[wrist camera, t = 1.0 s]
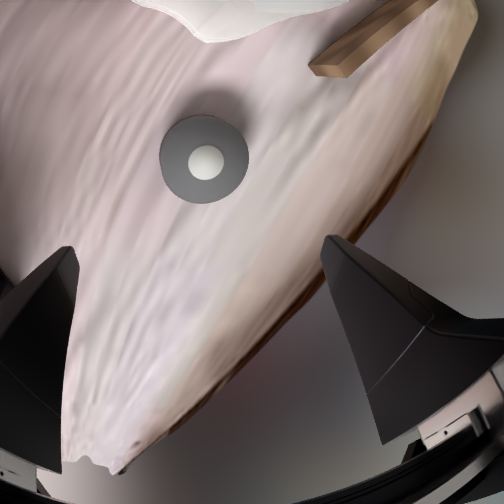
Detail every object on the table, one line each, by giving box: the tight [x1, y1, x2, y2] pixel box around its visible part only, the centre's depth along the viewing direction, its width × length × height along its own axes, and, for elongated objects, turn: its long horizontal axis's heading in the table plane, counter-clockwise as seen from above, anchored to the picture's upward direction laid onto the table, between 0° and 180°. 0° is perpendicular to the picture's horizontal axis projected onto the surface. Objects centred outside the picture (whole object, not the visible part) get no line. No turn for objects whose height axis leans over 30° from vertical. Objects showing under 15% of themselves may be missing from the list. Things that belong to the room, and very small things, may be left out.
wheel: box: [159, 115, 249, 204], centre depth 19 cm, size 6×6×3 cm
